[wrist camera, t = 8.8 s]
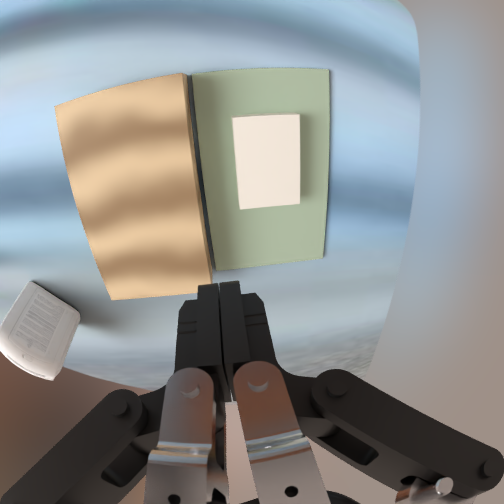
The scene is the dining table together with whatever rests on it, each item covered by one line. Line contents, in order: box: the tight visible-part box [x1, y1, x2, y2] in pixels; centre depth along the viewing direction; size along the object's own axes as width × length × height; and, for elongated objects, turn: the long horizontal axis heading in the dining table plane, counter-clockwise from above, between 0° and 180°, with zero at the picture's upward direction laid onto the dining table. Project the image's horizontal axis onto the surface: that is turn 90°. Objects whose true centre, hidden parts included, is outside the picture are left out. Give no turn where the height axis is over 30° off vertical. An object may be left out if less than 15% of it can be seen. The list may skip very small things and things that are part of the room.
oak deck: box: [54, 73, 212, 300], centre depth 27 cm, size 22×12×4 cm, turn 3°
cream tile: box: [231, 112, 300, 210], centre depth 27 cm, size 9×6×2 cm, turn 3°
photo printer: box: [0, 281, 80, 380], centre depth 29 cm, size 10×4×12 cm, turn 49°
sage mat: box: [192, 68, 330, 271], centre depth 29 cm, size 22×13×1 cm, turn 3°
